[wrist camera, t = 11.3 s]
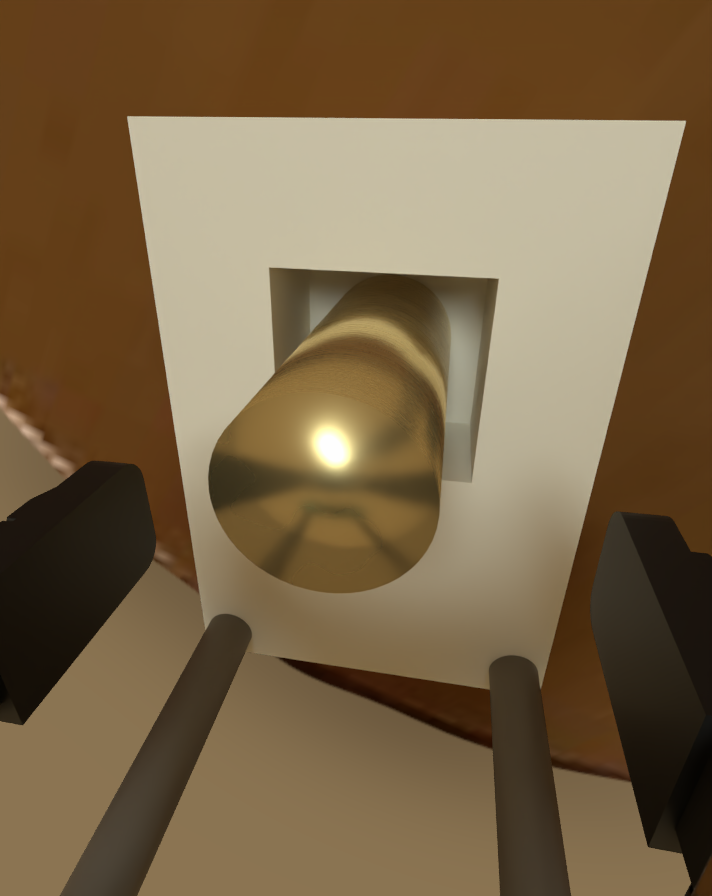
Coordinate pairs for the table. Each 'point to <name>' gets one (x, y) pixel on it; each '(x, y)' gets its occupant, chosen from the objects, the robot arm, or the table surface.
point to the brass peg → (343, 445)
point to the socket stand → (467, 413)
